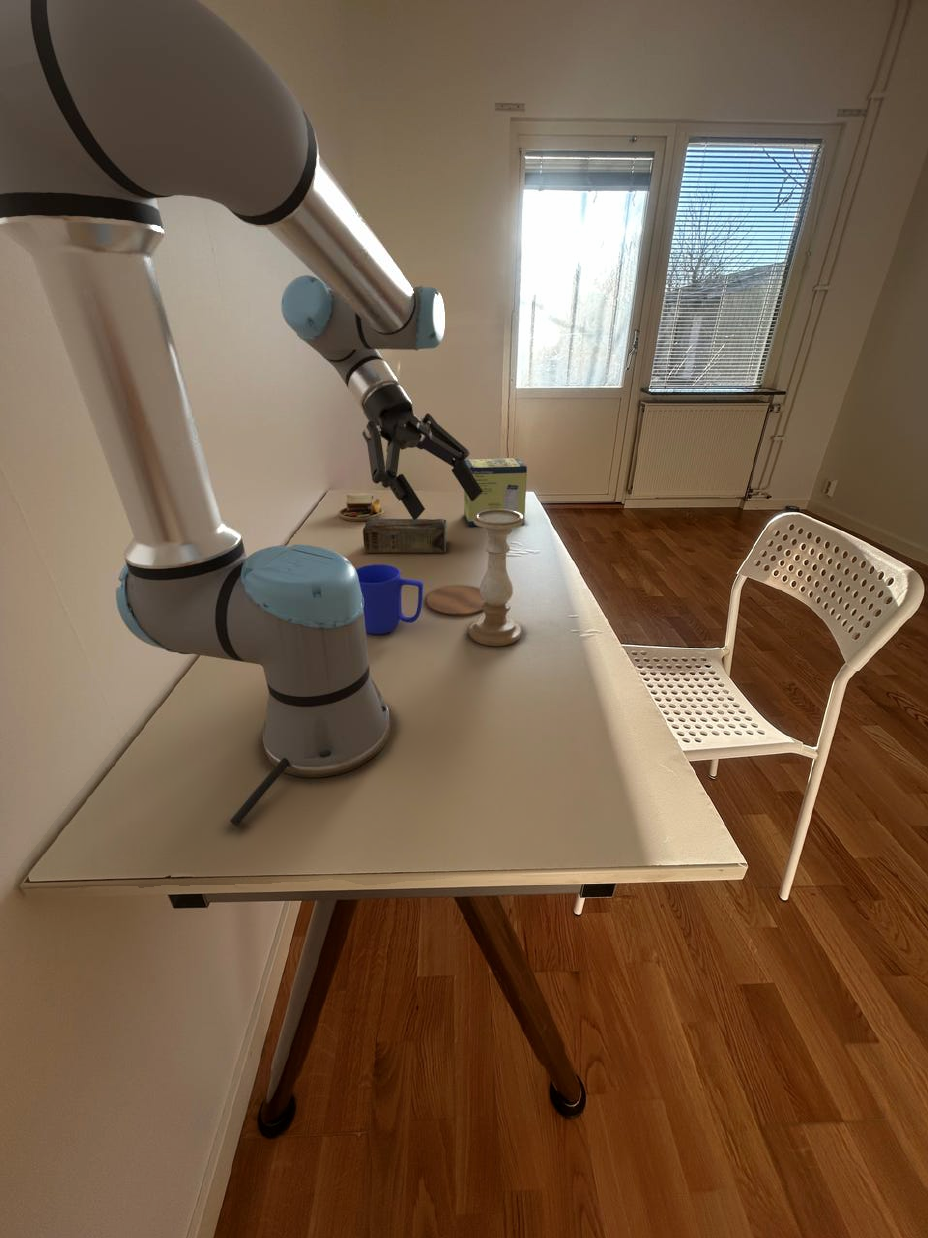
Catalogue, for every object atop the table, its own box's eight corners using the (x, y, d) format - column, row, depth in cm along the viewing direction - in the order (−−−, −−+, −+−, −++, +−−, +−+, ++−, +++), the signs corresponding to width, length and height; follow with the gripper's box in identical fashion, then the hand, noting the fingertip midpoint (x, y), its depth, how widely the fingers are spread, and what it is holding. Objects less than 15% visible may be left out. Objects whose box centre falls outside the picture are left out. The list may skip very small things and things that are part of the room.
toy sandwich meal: (333, 522, 140) (331, 505, 138) (345, 508, 152) (343, 492, 150) (379, 522, 140) (377, 505, 138) (387, 508, 152) (386, 492, 149)
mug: (418, 643, 84) (415, 587, 79) (348, 636, 86) (341, 581, 81) (431, 620, 91) (429, 567, 86) (366, 613, 93) (360, 562, 88)
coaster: (468, 621, 90) (468, 619, 90) (413, 605, 96) (413, 603, 96) (501, 596, 99) (501, 594, 99) (450, 582, 105) (450, 581, 104)
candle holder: (466, 622, 90) (466, 508, 80) (515, 619, 91) (521, 506, 81) (472, 648, 82) (472, 525, 72) (526, 645, 83) (533, 523, 73)
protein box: (463, 515, 145) (462, 459, 138) (517, 513, 146) (520, 457, 139) (467, 527, 136) (467, 467, 128) (525, 525, 137) (528, 465, 130)
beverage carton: (446, 554, 119) (445, 526, 116) (363, 554, 119) (360, 527, 116) (447, 542, 126) (446, 515, 123) (368, 542, 126) (366, 516, 123)
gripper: (425, 407, 95) (486, 502, 94) (309, 422, 79) (380, 536, 77) (445, 377, 90) (510, 477, 88) (324, 386, 73) (402, 508, 72)
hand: (449, 505), depth 83 cm, fingers open, 13 cm apart
